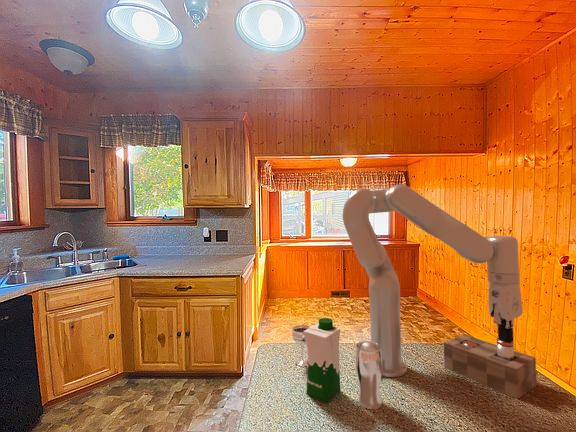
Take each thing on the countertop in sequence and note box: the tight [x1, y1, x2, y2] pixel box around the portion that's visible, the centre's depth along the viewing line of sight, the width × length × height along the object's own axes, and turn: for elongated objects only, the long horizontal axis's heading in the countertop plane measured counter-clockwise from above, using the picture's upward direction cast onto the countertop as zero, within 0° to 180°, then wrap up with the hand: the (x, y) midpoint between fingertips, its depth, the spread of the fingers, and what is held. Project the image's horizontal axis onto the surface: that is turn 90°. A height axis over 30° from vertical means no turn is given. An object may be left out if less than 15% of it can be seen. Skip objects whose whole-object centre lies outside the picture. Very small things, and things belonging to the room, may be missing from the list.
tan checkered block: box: [443, 334, 537, 400], centre depth 89 cm, size 12×20×8 cm, turn 30°
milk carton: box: [303, 317, 341, 404], centre depth 82 cm, size 9×9×20 cm
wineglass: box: [291, 324, 310, 366], centre depth 99 cm, size 7×7×12 cm
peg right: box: [496, 337, 515, 361], centre depth 84 cm, size 4×4×8 cm
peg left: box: [463, 341, 477, 348], centre depth 93 cm, size 4×4×8 cm
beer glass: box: [354, 340, 383, 410], centre depth 77 cm, size 7×7×15 cm
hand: (505, 340), depth 84 cm, fingers closed
